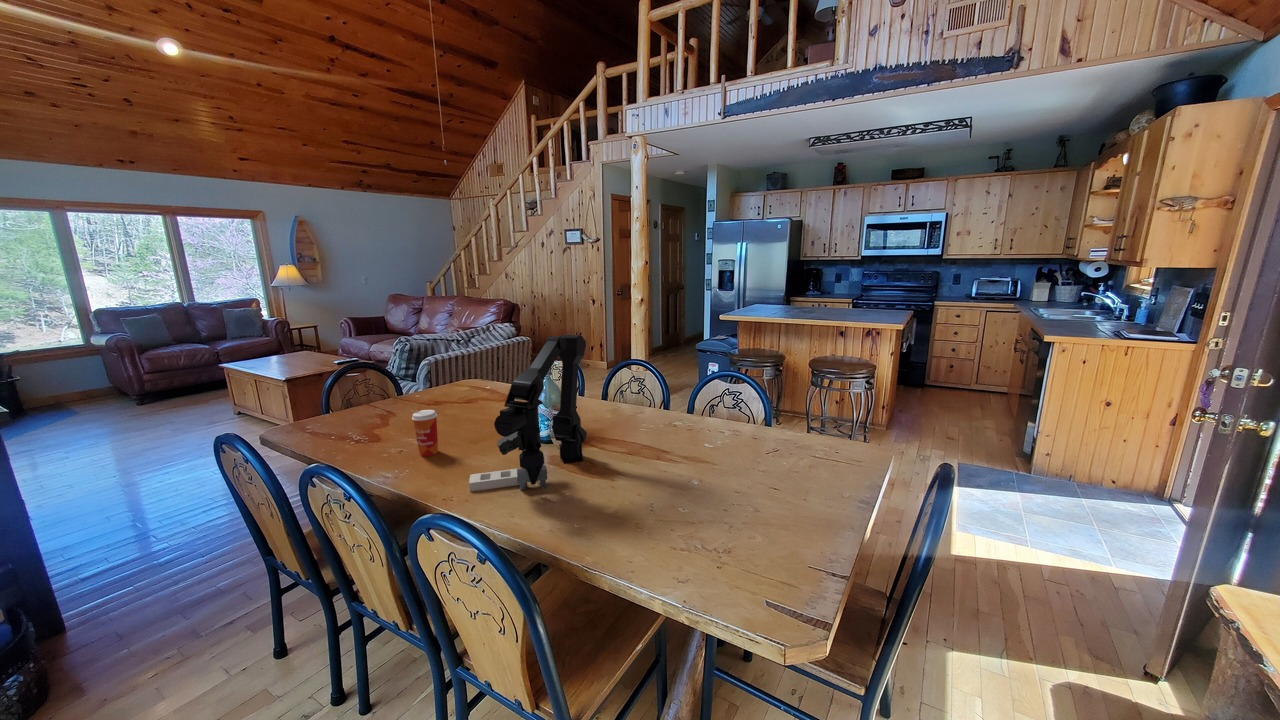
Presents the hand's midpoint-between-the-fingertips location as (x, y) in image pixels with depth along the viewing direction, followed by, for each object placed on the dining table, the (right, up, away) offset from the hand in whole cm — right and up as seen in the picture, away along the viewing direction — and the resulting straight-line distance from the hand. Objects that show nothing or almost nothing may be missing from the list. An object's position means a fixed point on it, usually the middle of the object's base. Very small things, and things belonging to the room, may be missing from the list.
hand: (532, 477), depth 136 cm
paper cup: (-40, +2, +26) cm, 48 cm away
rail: (-11, -3, +3) cm, 11 cm away
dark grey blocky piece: (0, -3, +1) cm, 3 cm away
